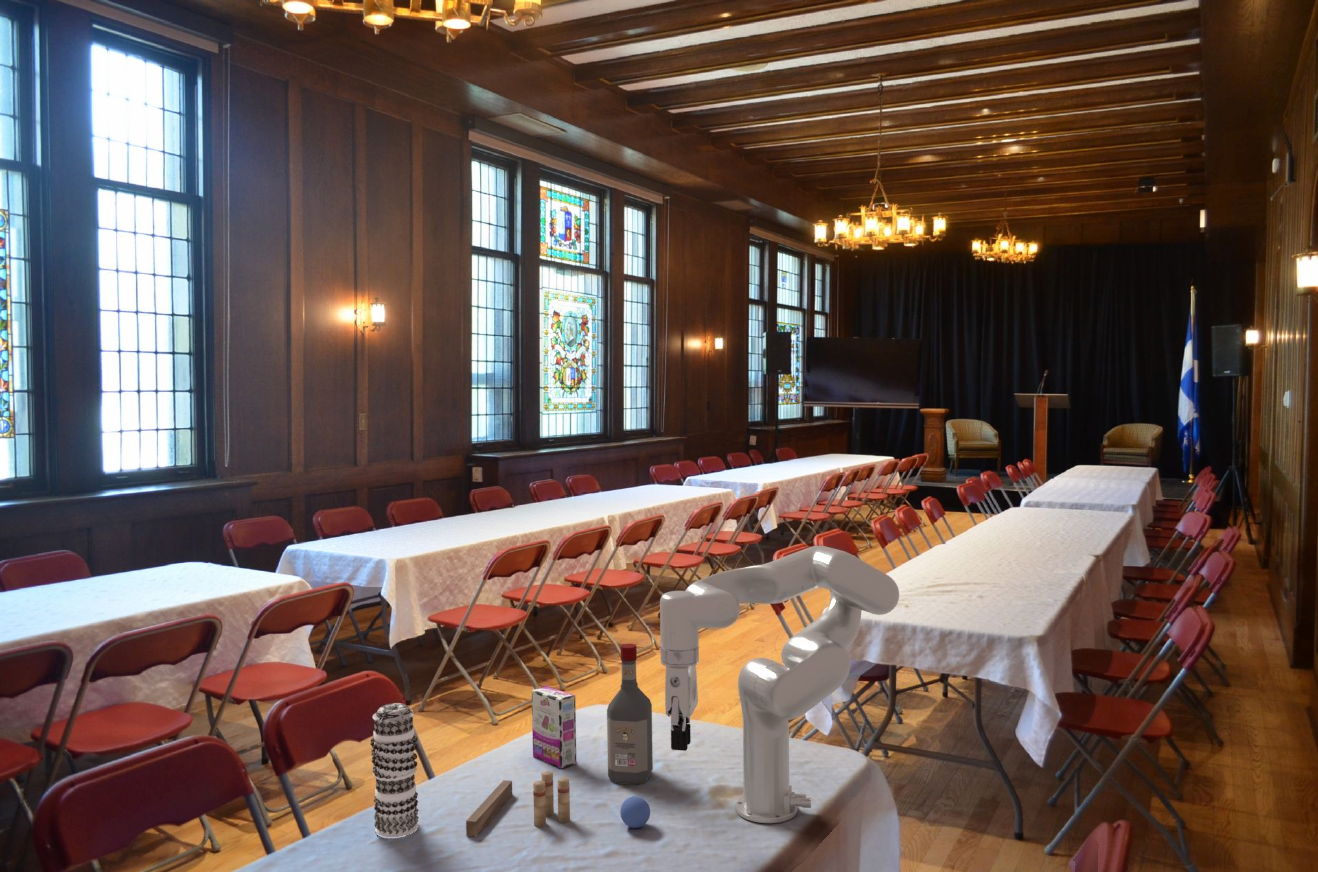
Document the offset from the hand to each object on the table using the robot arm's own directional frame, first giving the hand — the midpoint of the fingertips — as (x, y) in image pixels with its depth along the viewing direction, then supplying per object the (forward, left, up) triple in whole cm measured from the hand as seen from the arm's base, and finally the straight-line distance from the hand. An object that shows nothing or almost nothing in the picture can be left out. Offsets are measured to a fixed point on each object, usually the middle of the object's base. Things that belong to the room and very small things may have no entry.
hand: (680, 745), depth 193 cm
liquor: (+17, -24, -17) cm, 34 cm away
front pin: (+25, 0, -17) cm, 30 cm away
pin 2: (+29, -2, -17) cm, 34 cm away
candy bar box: (+37, -30, -17) cm, 50 cm away
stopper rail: (+41, 0, -17) cm, 44 cm away
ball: (+10, 0, -14) cm, 17 cm away
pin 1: (+29, +3, -17) cm, 34 cm away
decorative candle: (+57, +10, -17) cm, 60 cm away
